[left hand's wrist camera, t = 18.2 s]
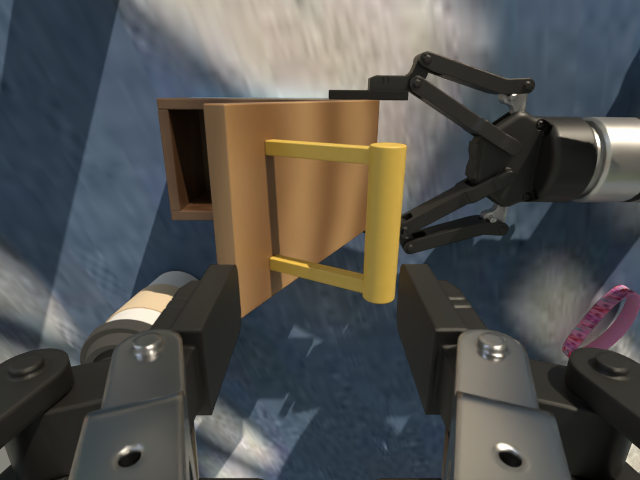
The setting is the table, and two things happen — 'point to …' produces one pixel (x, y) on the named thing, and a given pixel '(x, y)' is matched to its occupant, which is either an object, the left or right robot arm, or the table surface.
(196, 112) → the chest
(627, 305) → the headband
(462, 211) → the table surface
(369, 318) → the table surface
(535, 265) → the table surface
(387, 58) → the table surface
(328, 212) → the lid
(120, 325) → the coffee cup
